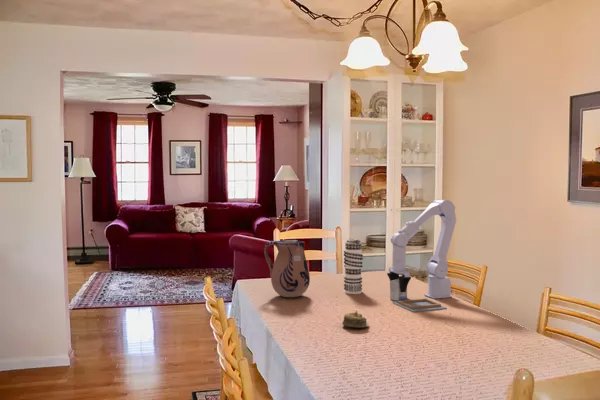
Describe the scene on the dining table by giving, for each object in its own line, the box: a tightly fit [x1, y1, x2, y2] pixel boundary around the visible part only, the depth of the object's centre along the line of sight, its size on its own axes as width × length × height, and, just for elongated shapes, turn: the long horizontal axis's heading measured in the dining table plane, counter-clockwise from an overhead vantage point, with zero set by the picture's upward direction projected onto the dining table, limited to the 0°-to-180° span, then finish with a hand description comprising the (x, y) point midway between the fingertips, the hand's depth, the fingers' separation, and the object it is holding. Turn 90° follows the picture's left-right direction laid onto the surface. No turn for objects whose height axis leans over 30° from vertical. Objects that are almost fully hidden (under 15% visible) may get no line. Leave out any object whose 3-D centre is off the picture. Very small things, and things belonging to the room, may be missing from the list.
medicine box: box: [389, 279, 408, 302], centre depth 231 cm, size 8×4×9 cm, turn 140°
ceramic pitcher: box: [263, 239, 311, 298], centre depth 237 cm, size 18×21×25 cm
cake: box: [341, 310, 370, 329], centre depth 191 cm, size 10×10×5 cm
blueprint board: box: [392, 298, 448, 313], centre depth 219 cm, size 16×16×2 cm
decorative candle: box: [343, 238, 364, 295], centre depth 245 cm, size 9×9×25 cm
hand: (398, 290), depth 231 cm, fingers open, 7 cm apart
